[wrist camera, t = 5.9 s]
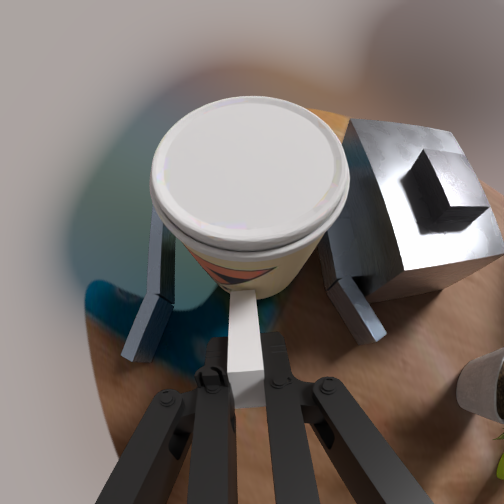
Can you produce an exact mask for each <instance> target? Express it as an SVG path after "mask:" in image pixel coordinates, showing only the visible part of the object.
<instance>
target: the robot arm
mask: <svg viewBox="0 0 504 504" xmlns="http://www.w3.org/2000/svg"><path fill="white" fill-rule="evenodd" d="M194 377H195V380H196V383H197V386H198V387H197V388H196V389H194V390H192V391H189V392H185V393H181V394H180V393H179V392H178V391H176V390H173V389H165V390H162V391H160V392H158V393H157V394H156V395H155V397H154V398H153V400H152V402H151V403H150V405H149V407H148V409H147V411H146V412H145V414H144V416H143V418H142V419H141V421H140V423H139V425H138V426H137V428H136V430H135V432H134V434H133V435H132V437H131V439H130V441H129V442H128V444H127V446H126V448H125V450H124V451H123V453H122V455H121V457H120V459H119V461H118V462H117V464H116V466H115V468H114V470H113V471H112V473H111V475H110V477H109V479H108V481H107V482H106V484H105V486H104V488H103V490H102V492H101V493H100V495H99V497H98V499H97V501H96V503H95V504H166V502H167V500H168V498H169V495H170V493H171V490H172V488H173V486H174V483H175V481H176V478H177V476H178V474H179V471H180V469H181V466H182V464H183V462H184V459H185V457H186V454H187V452H188V449H189V447H190V444H191V442H192V450H191V460H190V472H189V484H188V497H187V504H238V493H237V453H236V416H235V408H251V407H263V406H266V411H267V423H268V432H269V442H270V452H271V461H272V471H273V481H274V491H275V501H276V504H320V501H319V495H318V490H317V485H316V480H315V475H314V470H313V465H312V460H311V455H310V450H309V445H308V440H307V435H306V430H305V425H304V423H310V425H311V427H312V429H313V431H314V432H315V434H316V436H317V438H318V439H319V441H320V443H321V444H322V446H323V448H324V450H325V451H326V453H327V455H328V456H329V458H330V460H331V462H332V463H333V465H334V467H335V468H336V470H337V472H338V473H339V475H340V477H341V478H342V480H343V482H344V483H345V485H346V487H347V488H348V490H349V492H350V493H351V495H352V496H353V498H354V500H355V501H356V503H357V504H434V503H433V502H432V500H431V499H430V498H429V496H428V495H427V494H426V493H425V491H424V490H423V489H422V487H421V486H420V485H419V483H418V482H417V481H416V480H415V478H414V477H413V476H412V474H411V473H410V472H409V470H408V469H407V468H406V466H405V465H404V464H403V462H402V461H401V460H400V459H399V457H398V456H397V455H396V453H395V452H394V451H393V449H392V448H391V447H390V445H389V444H388V443H387V441H386V440H385V439H384V437H383V436H382V435H381V433H380V432H379V431H378V430H377V428H376V427H375V426H374V424H373V423H372V422H371V420H370V419H369V418H368V416H367V415H366V414H365V412H364V411H363V410H362V408H361V407H360V406H359V404H358V403H357V402H356V400H355V399H354V398H353V396H352V395H351V394H350V392H349V391H348V390H347V388H346V387H345V386H344V384H343V383H342V382H341V381H340V380H339V379H337V378H334V377H323V378H320V379H319V380H317V381H316V382H315V383H310V382H303V381H300V380H298V379H297V378H295V377H294V376H293V374H292V372H291V368H290V364H289V359H288V354H287V350H286V346H285V340H284V337H283V336H282V335H281V334H280V333H279V332H269V333H260V330H259V321H258V312H257V303H256V294H255V289H254V290H243V291H231V292H230V311H229V335H228V337H214V338H211V340H210V341H209V342H208V344H207V350H206V359H205V366H203V367H201V368H199V369H198V370H197V371H196V373H195V375H194Z"/></svg>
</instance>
